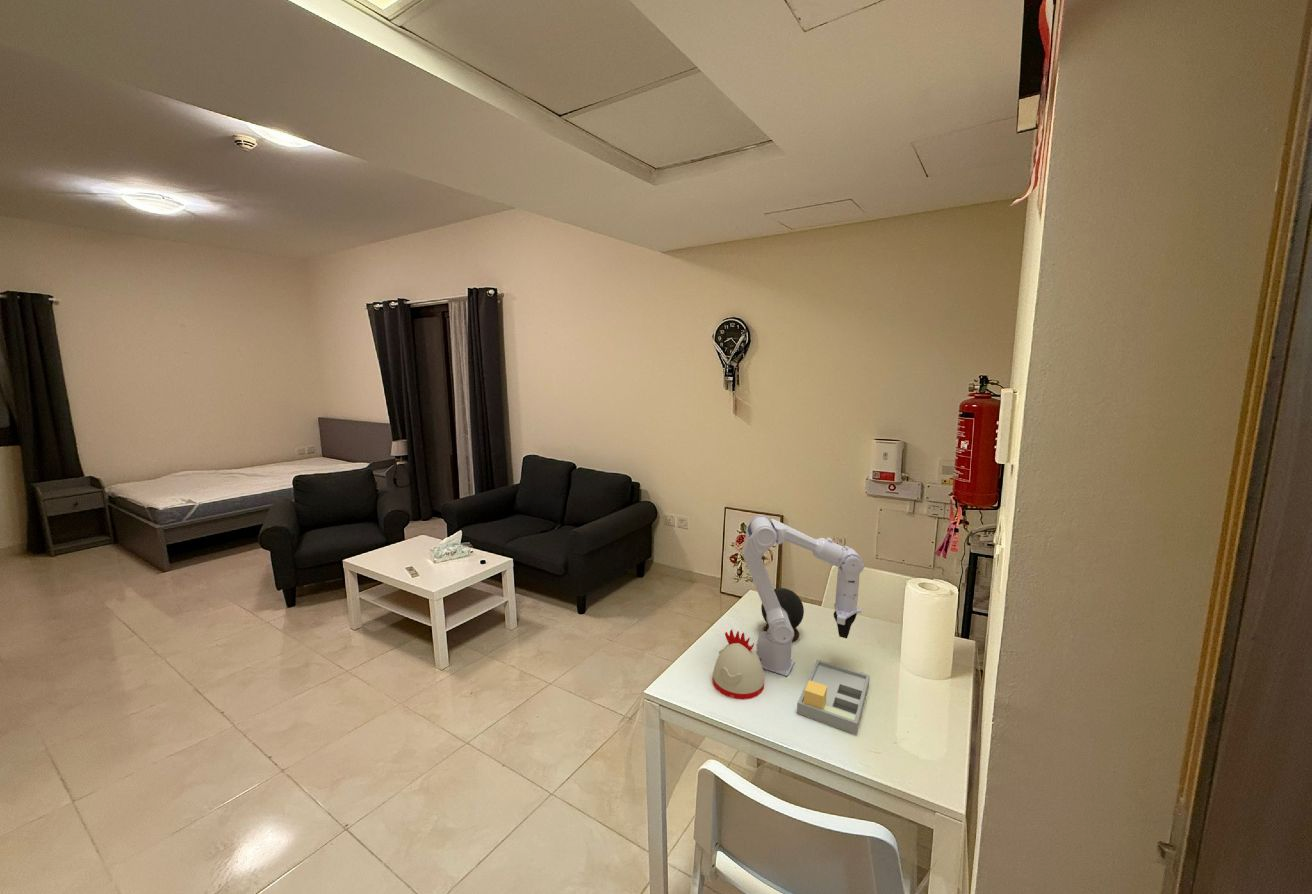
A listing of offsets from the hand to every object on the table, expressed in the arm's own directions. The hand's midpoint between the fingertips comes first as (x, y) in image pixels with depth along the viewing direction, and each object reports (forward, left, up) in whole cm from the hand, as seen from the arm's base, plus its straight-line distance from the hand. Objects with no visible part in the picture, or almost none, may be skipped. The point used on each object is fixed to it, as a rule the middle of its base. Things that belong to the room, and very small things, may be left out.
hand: (843, 636), depth 140 cm
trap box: (+1, -15, -10) cm, 18 cm away
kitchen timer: (-23, -21, -10) cm, 33 cm away
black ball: (-20, +9, -10) cm, 24 cm away
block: (-2, -22, -8) cm, 23 cm away
